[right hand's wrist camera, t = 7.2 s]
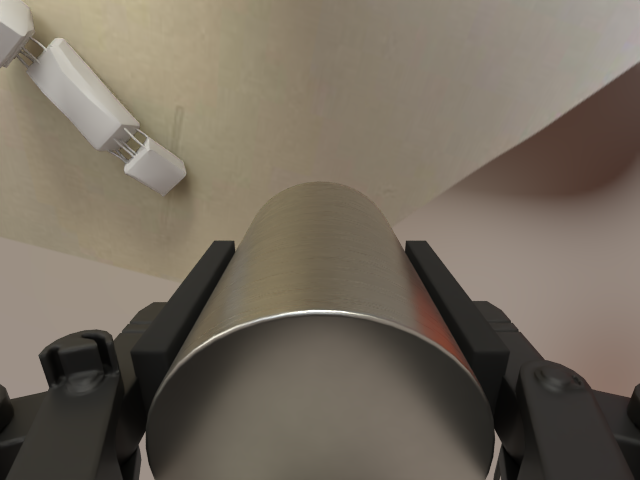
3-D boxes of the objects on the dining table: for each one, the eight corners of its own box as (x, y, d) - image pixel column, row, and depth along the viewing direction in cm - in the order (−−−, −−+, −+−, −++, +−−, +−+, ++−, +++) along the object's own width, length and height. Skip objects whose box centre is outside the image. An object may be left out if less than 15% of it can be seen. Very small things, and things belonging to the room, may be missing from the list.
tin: (399, 307, 17) (495, 551, 8) (263, 326, 17) (200, 581, 8) (386, 169, 15) (499, 283, 5) (230, 194, 15) (87, 341, 6)
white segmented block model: (-11, 19, 31) (-87, 7, 25) (13, -14, 30) (-59, -35, 24) (172, 188, 38) (148, 211, 32) (196, 165, 38) (176, 184, 31)
